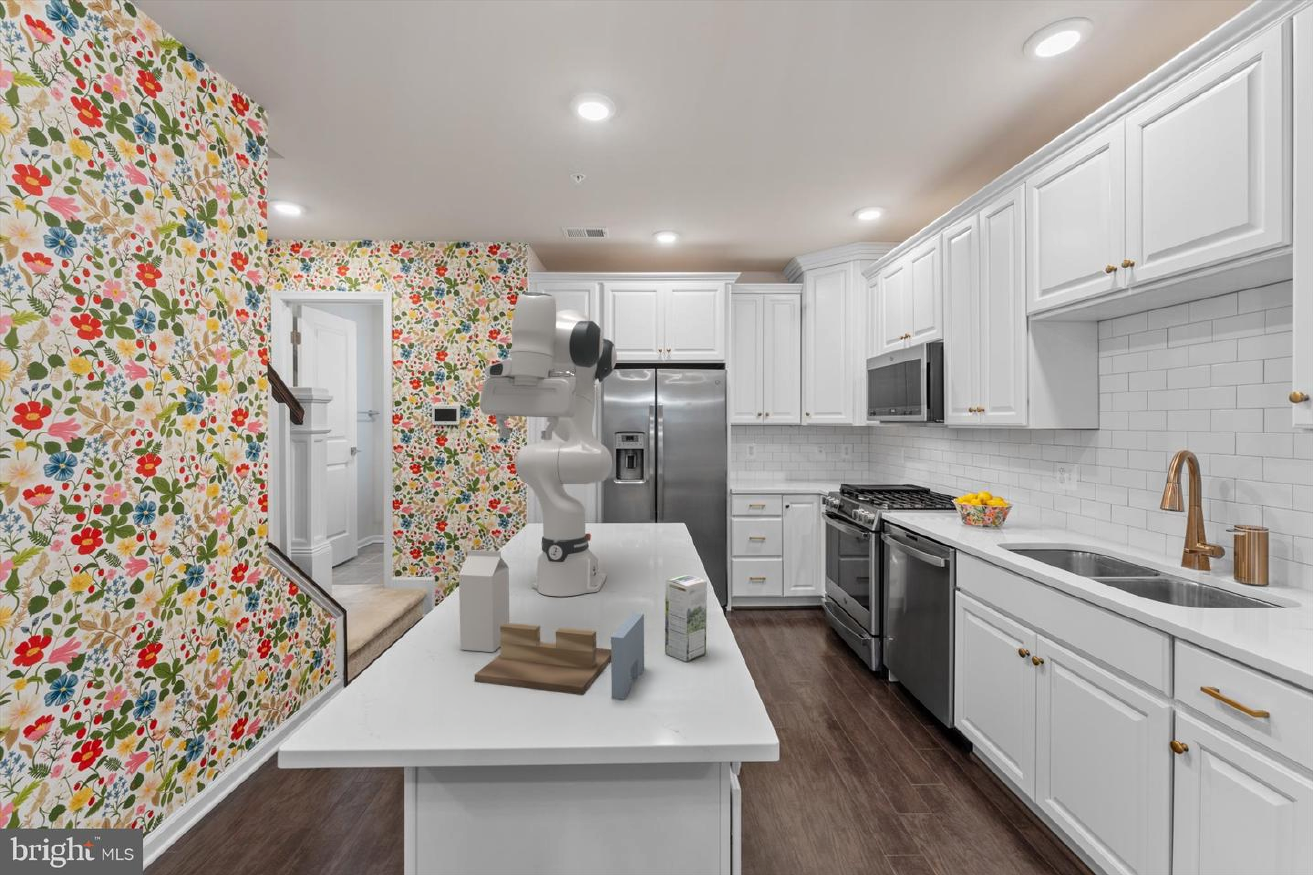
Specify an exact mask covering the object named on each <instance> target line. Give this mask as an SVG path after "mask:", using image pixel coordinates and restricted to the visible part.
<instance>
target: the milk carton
mask: <svg viewBox="0 0 1313 875" xmlns="http://www.w3.org/2000/svg"><path fill="white" fill-rule="evenodd" d="M501 555H502V552H501V550H499V551H497V550H478V549H477V550H475V549H468V550H467V556H466V559H465V561H464V562H463V564H462V566H461V569H460V571H459V573H458V586H459V587H458V588H459V591H458V594H459V596H458V597H459V598H458V599H459V601H458V602H459V642H460V643H459V644H460V646H459V647H460V648H459V650H461V651H471V652H472V651H473V652H474V651H476V652H487V653H488V652H489V653H494V652H495V651H497V650H498V649H499V648H501V646H500V626H502V625H503V624H505V623H511V622H510V578H509V577H510V572H509V570H510V568H509V566H508V564H507V563H506V561H505V560H504V559H503V557H502V556H501Z"/></svg>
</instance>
